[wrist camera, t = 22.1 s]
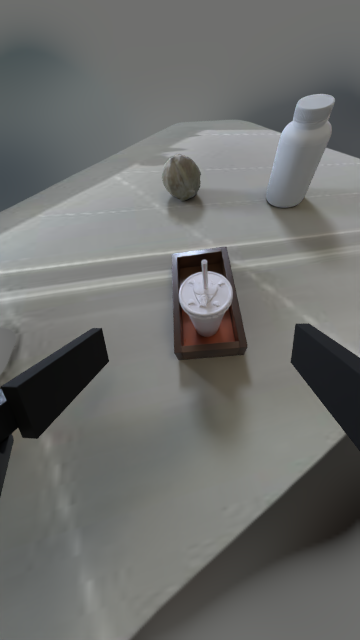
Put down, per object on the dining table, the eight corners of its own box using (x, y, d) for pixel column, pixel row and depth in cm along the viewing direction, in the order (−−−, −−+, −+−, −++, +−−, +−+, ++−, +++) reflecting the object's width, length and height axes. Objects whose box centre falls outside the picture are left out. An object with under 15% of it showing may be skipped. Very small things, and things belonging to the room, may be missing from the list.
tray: (178, 359, 30) (174, 353, 27) (175, 267, 39) (171, 254, 35) (243, 354, 29) (247, 347, 26) (225, 260, 37) (226, 246, 34)
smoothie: (228, 310, 32) (239, 242, 19) (226, 347, 29) (236, 295, 16) (190, 307, 33) (177, 242, 20) (184, 342, 30) (165, 291, 18)
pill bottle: (272, 212, 41) (300, 116, 28) (260, 191, 45) (280, 98, 32) (310, 204, 41) (357, 102, 27) (295, 183, 44) (330, 85, 31)
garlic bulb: (200, 205, 50) (212, 166, 40) (172, 214, 48) (177, 175, 38) (183, 178, 52) (191, 135, 42) (155, 186, 49) (156, 141, 40)
